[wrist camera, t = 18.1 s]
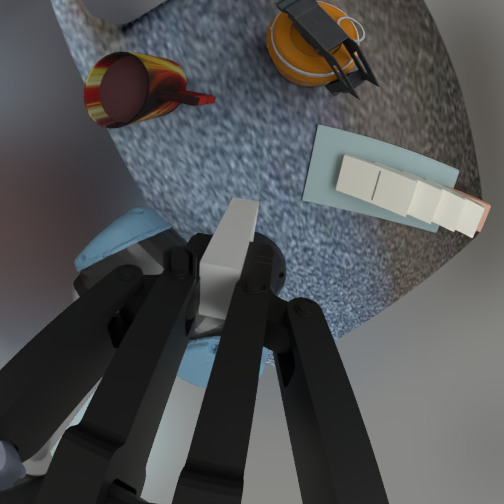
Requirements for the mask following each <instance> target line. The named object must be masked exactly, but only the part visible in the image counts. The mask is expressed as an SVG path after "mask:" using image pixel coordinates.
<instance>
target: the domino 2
mask: <svg viewBox="0 0 504 504" xmlns="http://www.w3.org/2000/svg"><path fill="white" fill-rule="evenodd" d="M375 163H376V164H378V165H381V166H384V167H386V168H389V169H392V170H394V171H397V172H399V173H402V174H404V175H407V176H409V177H412V178H414V179H417V181H418V183H417V186H416V189H415V192H414V195H413V198H412V201H411V204H410V207H409V209H408V212H407V214H408V215H411V216H413V217H415V218H417V219H420V220H422V221H424V222H426V223H429V224H431V222H432V219H433V217H434V214H435V212H436V209H437V206H438V204H439V201H440V198H441V195H442V193H443V190H442V188H440V187H437V186H435V185H433V184H431V183H428V182H426V181H424V180H421V179H419V178H417V177H414V176H412V175H409V174H407V173H404V172H402V171H399V170H397V169H394V168H392V167H389V166H386V165H384V164H381V163H378V162H375Z"/></svg>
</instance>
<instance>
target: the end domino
mask: <svg viewBox="0 0 504 504" xmlns="http://www.w3.org/2000/svg"><path fill="white" fill-rule="evenodd" d="M445 187H447V188H449V189H451V190H453V191H455V192H457V193H459V194H461V195H463V196H465V197H467V198H469V199H471V200H473V201H475V202H477V203H479V204H481V205H483V207H484V208H485V209H484V212H483V214H482V217H481V219H480V222H479V224H478V227H477V229H476V231H479V232H481V229H482V227H483V225H484V222H485V220H486V217H487V215H488V212H489V210H490V207H491V205H489V204H488V203H487V202H485V201H483V200H481V199H478V198H476V197H474V196H471V195H469V194H466V193H464V192H461V191H459V190H456V189H454V188H451V187H448V186H446V185H445Z"/></svg>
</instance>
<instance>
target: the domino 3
mask: <svg viewBox="0 0 504 504" xmlns="http://www.w3.org/2000/svg"><path fill="white" fill-rule="evenodd" d="M403 172H404V173H407V174H409V175H412V176H414V177H417V178H419V179H421V180H424V181H426V182H428V183H431V184H433V185H435V186H437V187H440V188H442V190H443V193H442V195H441V198H440V201H439V204H438V206H437V209H436V212H435V214H434V217H433V219H432V222H434V223H436V224H438V225H440V226H442V227H445V228H447V229H449V230H451V231H453V232H454V231H455V228H456V226H457V223H458V221H459V219H460V216H461V214H462V211H463V208H464V206H465V203H466V199H465V198H464V197H462V196H460V195H458V194H456V193H454V192H452V191H450V190H448V189H446V188H443V187H441V186H439V185H437V184H435V183H432V182H430V181H428V180H426V179H423V178H421V177H419V176H416V175H414V174H411V173H409V172H406V171H404V170H403Z"/></svg>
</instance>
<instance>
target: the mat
mask: <svg viewBox="0 0 504 504" xmlns="http://www.w3.org/2000/svg"><path fill="white" fill-rule="evenodd" d="M345 154H349V155H352V156H355V157H358V158H361V159H364V160H367V161H370V162H373V163H375V162H378V163H381V164H384V165H386V166H389V167H392V168H394V169H397V170H399V171H402V172H403V170H404V171H406V172H409V173H411V174H414V175H416V176H419V177H421V178H423V179H430V180H432V181H434V182H436V183H438V184H441V185H443V186H445V185H446V186H448V187H451V188H454V185H455V182H456V179H457V176H458V173H459V170H457V169H455V168H453V167H450V166H448V165H446V164H443V163H441V162H438V161H436V160H433V159H431V158H428V157H426V156H423V155H421V154H418V153H415V152H412V151H410V150H407V149H404V148H401V147H398V146H395V145H392V144H389V143H386V142H383V141H379V140H376V139H373V138H369V137H366V136H363V135H359V134H355V133H352V132H348V131H344V130H340V129H336V128H332V127H328V126H323V125H319V124H318V127H317V132H316V137H315V142H314V147H313V152H312V156H311V161H310V166H309V171H308V175H307V180H306V185H305V189H304V194H303V198H302V201H307V202H312V203H317V204H321V205H326V206H331V207H335V208H340V209H344V210H349V211H353V212H357V213H362V214H366V215H370V216H374V217H378V218H382V219H386V220H390V221H394V222H398V223H402V224H406V225H409V226H413V227H417V228H420V229H424V230H427V231H431V232H434V233H436V232H437V230H438V228H439V225H438V224H436V223H434V222H431V224H429V223H426V222H424V221H422V220H420V219H417V218H415V217H413V216H411V215H408V214H407V215H406V217H404V216H401V215H399V214H397V213H394V212H392V211H389V210H387V209H384V208H382V207H380V206H377V205H374V204H372V203H369V202H367V201H364V200H362V199H359V198H356V197H354V196H351V195H348V194H345V193H343V192H340V191H337V190H336V186H337V182H338V178H339V174H340V170H341V166H342V162H343V158H344V155H345Z"/></svg>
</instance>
